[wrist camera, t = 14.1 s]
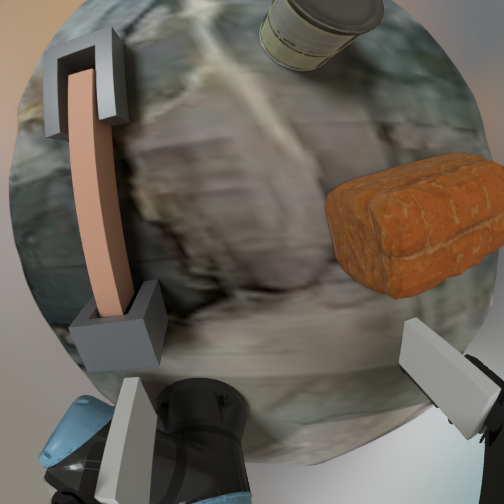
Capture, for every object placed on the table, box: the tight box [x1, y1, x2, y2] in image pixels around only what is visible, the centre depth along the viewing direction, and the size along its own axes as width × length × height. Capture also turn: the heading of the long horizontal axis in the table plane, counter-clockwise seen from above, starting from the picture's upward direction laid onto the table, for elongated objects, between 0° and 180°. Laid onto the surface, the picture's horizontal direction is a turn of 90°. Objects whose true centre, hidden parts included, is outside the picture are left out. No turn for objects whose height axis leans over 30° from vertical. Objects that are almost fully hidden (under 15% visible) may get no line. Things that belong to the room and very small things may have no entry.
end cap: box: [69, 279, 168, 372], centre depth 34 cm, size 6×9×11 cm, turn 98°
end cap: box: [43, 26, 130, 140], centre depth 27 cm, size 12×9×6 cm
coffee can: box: [259, 0, 384, 71], centre depth 25 cm, size 10×10×14 cm
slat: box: [68, 68, 135, 317], centre depth 31 cm, size 28×3×7 cm, turn 5°
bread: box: [325, 152, 504, 299], centre depth 34 cm, size 14×27×15 cm, turn 108°
